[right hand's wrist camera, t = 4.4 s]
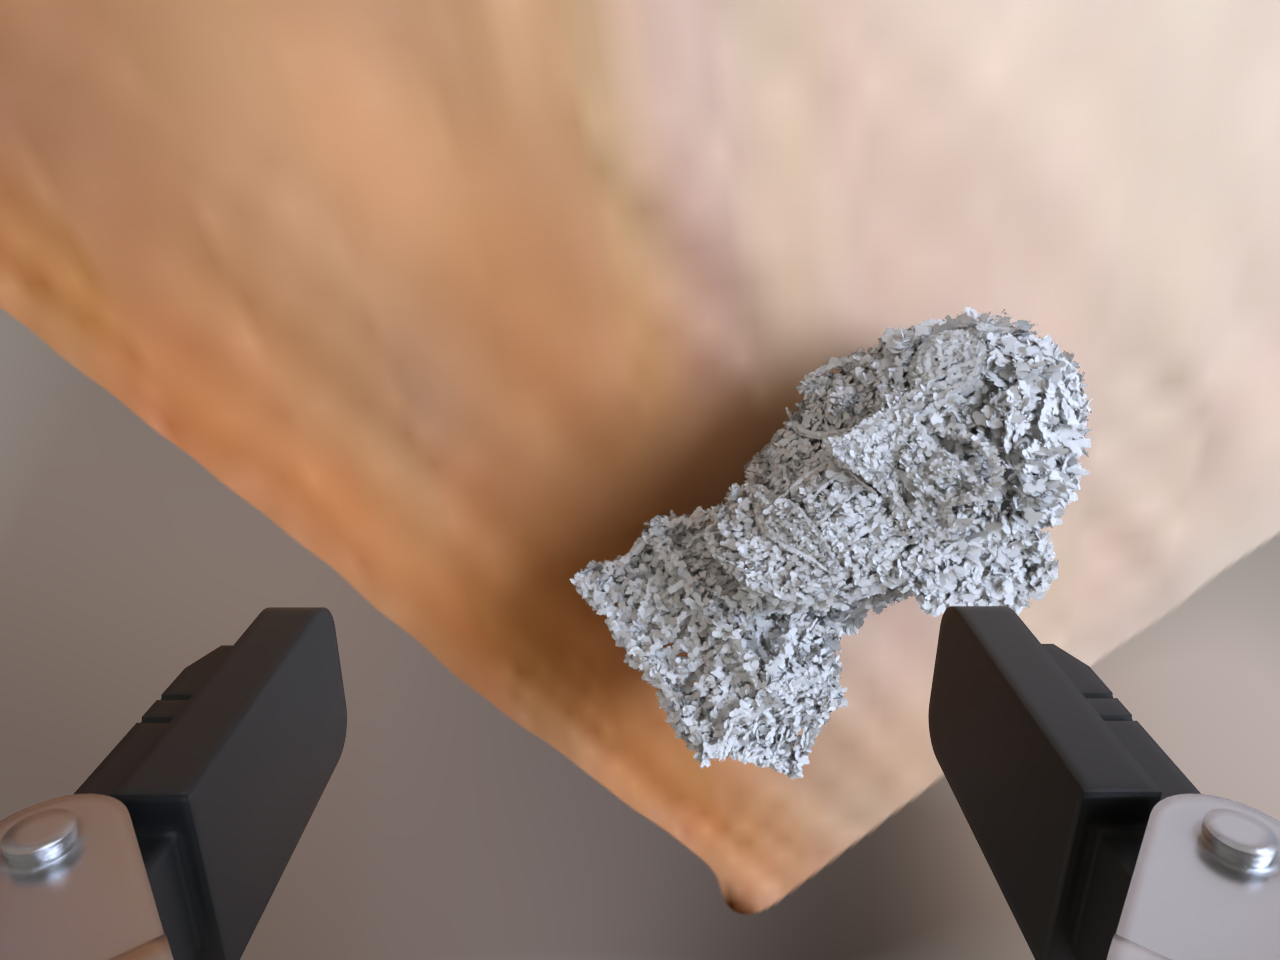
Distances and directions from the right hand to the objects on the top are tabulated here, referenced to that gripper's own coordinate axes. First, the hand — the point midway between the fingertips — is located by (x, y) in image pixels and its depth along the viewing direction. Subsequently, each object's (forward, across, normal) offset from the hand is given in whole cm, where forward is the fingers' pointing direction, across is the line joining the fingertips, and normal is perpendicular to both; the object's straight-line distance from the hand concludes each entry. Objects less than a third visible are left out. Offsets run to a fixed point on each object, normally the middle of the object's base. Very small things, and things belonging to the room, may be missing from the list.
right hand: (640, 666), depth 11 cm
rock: (+40, +10, -12) cm, 42 cm away
